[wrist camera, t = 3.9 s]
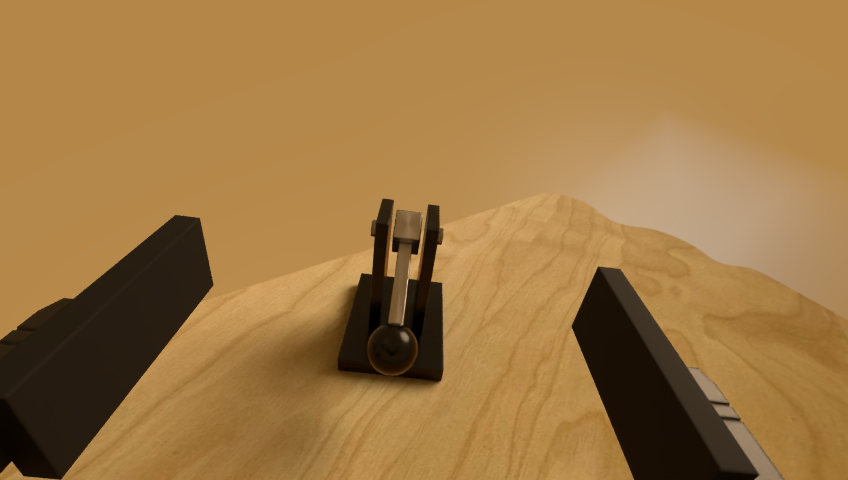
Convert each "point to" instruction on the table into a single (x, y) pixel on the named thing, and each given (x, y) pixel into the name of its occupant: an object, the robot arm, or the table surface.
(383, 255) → the bracket
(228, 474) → the table surface
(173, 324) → the robot arm
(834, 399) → the table surface
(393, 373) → the lever
